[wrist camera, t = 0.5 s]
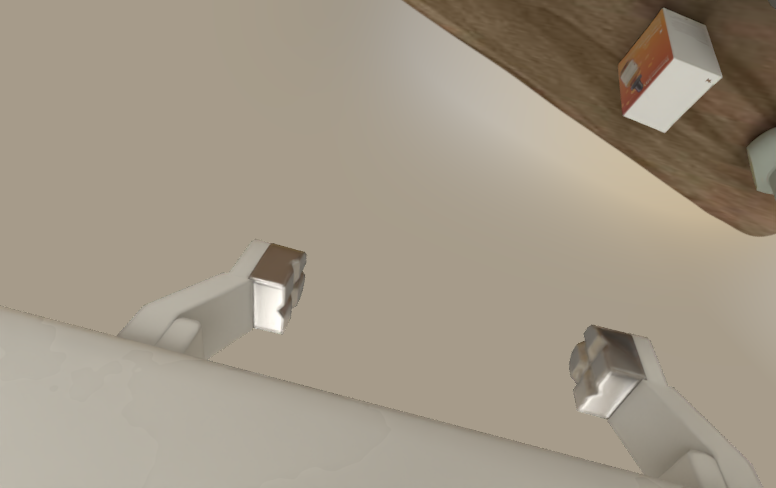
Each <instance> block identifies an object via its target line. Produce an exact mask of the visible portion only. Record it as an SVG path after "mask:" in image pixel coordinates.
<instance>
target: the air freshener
mask: <svg viewBox="0 0 776 488" xmlns="http://www.w3.org/2000/svg"><path fill="white" fill-rule="evenodd" d="M747 154H748V159H749V164H750V168H751V172H752V176H753V180H754V184H755V187H756V189H757V191H760V192H763V193H768V194H774V197H775V200H776V127H774V128H772V129H770V130H768V131H766V132H764V133H763V134H761V135H760V136H758V137H757V138H756V139H754V140H753V141H752V142H751V143H750V144H749V145H748V146H747Z"/></svg>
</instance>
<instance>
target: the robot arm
mask: <svg viewBox="0 0 776 488" xmlns="http://www.w3.org/2000/svg"><path fill="white" fill-rule="evenodd" d="M305 265H306V253H305V252H302V251H298V250H295V249H292V248H288V247H284V246H280V245H277V244H274V243H269V242H265V241H261V240H258V239H255V240H253V241H251V243H250V244H249V245H248V247H247V248H246V250H245V251H244V252H243V254H242V255H241V257H240V258H239V259H238V261H237V262H236V263H235V265H234V266H233V268H232V269H231V270H230V272H229V273H220V274H218V275H216V276H214V277H211V278H209V279H206V280H204V281H201V282H199V283H197V284H194V285H192V286H189V287H187V288H184V289H182V290H179V291H177V292H175V293H173V294H170V295H167V296H165V297H162V298H160V299H158V300H155V301H153V302H150V303H148V304H146V305H144V306H143V307H142V308H141V309H140V310H139V311H138V312H137V313H136V315H135V316H134V317H133V318H132V319H131V320H130V321H129V323H128V324H127V325H126V326H125V327H124V328H123V329H122V330H121V332H120V333H119V334H118V335H117V336H114V335H110V334H106V333H102V332H99V331H95V330H91V329H87V328H83V327H79V326H76V325H72V324H68V323H64V322H60V321H57V320H53V319H49V318H45V317H42V316H37V315H34V314H30V313H26V312H22V311H19V310H15V309H11V308H8V307H4V306H1V305H0V488H763V486H762V484H761V482H760V480H759V478H758V475H757V474H756V471H755V469H754V467H753V465H752V463H750V461H749V460H747V458H746V457H745V456H743V455H742V454H741V453H740V452H739V451H738V450H737V449H736V448H735V447H734V446H733V445H732V444H731V443H730V442H729V441H728V440H727V439H726V438H725V437H724V436H723V435H722V434H721V433H720V432H719V431H718V430H717V429H716V428H715V427H714V426H713V425H712V424H711V423H710V422H709V421H708V420H707V419H706V418H705V417H704V416H702V415H701V414H700V413H699V412H698V411H697V410H696V409H695V408H694V407H693V406H692V405H691V404H690V403H689V402H688V401H687V400H686V399H685V398H684V397H683V396H682V395H681V394H680V393H679V392H678V391H677V390H676V389H675V388H674V387H670V386H668V384H667V381H666V379H665V376H664V374H663V371H662V369H661V366H660V364H659V361H658V358H657V356H656V354H655V351H654V348H653V346H652V343H651V341H650V340H649V339H648V338H647V337H643V336H639V335H634V334H630V333H624V332H620V331H616V330H612V329H608V328H604V327H600V326H596V325H591V326H589V327H588V328H587V330H586V331H585V332H584V337H585V341H583V342H581V343H578V344H577V345H576V346H575V348H574V350H573V352H572V354H571V358H570V363H569V365H570V366H569V370H570V375H571V378H572V379H573V380H574V381H575V382H576V384H577V385H576V386H575V388H574V389H573V392H574V398H575V403H576V408H577V411H580V412H583V413H586V414H590V415H594V416H597V417H600V418H604V419H607V420H608V423H609V424H610V426H611V427H612V429H613V430H614V431H615V433H616V434H617V436H618V437H619V439H620V440H621V442H622V443H623V445H624V446H625V448H626V449H627V451H628V452H629V453H630V455H631V456H632V458H633V459H634V461H635V462H636V464H637V465H638V466H639V468H640V469H641V471H642V472H643V474H644V475H643V474H639V473H635V472H631V471H628V470H624V469H620V468H616V467H612V466H608V465H605V464H601V463H597V462H593V461H589V460H585V459H582V458H578V457H573V456H570V455H566V454H563V453H559V452H555V451H551V450H547V449H544V448H540V447H536V446H532V445H528V444H525V443H521V442H517V441H513V440H510V439H506V438H502V437H498V436H494V435H491V434H487V433H483V432H479V431H475V430H472V429H468V428H464V427H460V426H456V425H452V424H449V423H445V422H441V421H437V420H434V419H430V418H425V417H422V416H418V415H414V414H410V413H407V412H403V411H399V410H395V409H391V408H388V407H384V406H380V405H376V404H372V403H369V402H365V401H361V400H357V399H354V398H350V397H346V396H342V395H338V394H334V393H330V392H327V391H323V390H319V389H315V388H312V387H308V386H304V385H300V384H296V383H292V382H288V381H285V380H281V379H277V378H274V377H270V376H266V375H262V374H258V373H254V372H251V371H247V370H243V369H239V368H235V367H232V366H228V365H224V364H220V363H216V362H213V361H209V360H207V359H209V358H210V357H212V356H213V355H215V354H216V353H218V352H219V351H221V350H222V349H224V348H226V347H227V346H228V345H230V344H231V343H233V342H235V341H236V340H237V339H239V338H241V337H242V336H244V335H245V334H247V333H248V332H250V331H251V330H253V328H257V329H261V330H266V331H270V332H274V333H279V334H283V333H284V331H285V329H286V327H287V325H288V323H289V321H290V319H291V312H292V311H291V310H292V308H294V307H296V306H297V304H298V302H299V300H300V297H301V294H302V291H303V286H304V281H305V274H304V273H303V269H304V267H305Z"/></svg>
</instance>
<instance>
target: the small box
mask: <svg viewBox="0 0 776 488" xmlns="http://www.w3.org/2000/svg"><path fill="white" fill-rule="evenodd" d="M618 73H619V84H620V95H621V105H622V115H623V116H625V117H627V118H630V119H632V120H634V121H637V122H639V123H642V124H644V125H647V126H649V127H651V128H654V129H656V130H659V131H661V132H663V133H665V132H666V131H667V130H668V129H669V128H670V127H671V126H672V125H673V124H674V123H675V122H676V121H677V120H678V119H679V118H680V117H681V116H682V115H683V114H684V113H685V112H686V111H687V110H688V109H689V108H690V107H691V106H692V105H693V104H694V103H695V102H696V101H697V100H698V99H699V98H700V97H702V96H703V95H704V94H705V93H706V92H707V91H708V90H709V89H710V88H711V87H712V86H713V85H715V84H716V83H717V82H718V81H719V80H720V79H721V78H722V73H721V70H720V67H719V64H718V61H717V58H716V56H715V52H714V49H713V46H712V43H711V40H710V37H709V34H708V31H707V28H706V25H703V24H701V23H699V22H696V21H694V20H692V19H689V18H687V17H685V16H682V15H680V14H677V13H675V12H673V11H670V10H668V9H666V8H662V9H661V10H660V12H659V13H658V15H657V16H656V17H655V19H654V20H653V21H652V23H651V24H650V25H649V27H648V28H647V29H646V30H645V32H644V33H643V34H642V35H641V37H640V38H639V39H638V40H637V42H636V43H635V44H634V45H633V47H632V48H631V49H630V50H629V52H628V53H627V54H626V56H625V57H624V58H623V59H622V60H621V62H620V63H619V64H618Z"/></svg>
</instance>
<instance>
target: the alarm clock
mask: <svg viewBox="0 0 776 488" xmlns="http://www.w3.org/2000/svg"><path fill="white" fill-rule="evenodd" d="M768 1H769V3H770V5H771V6H772V7H773V8H775V9H776V0H768Z"/></svg>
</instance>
